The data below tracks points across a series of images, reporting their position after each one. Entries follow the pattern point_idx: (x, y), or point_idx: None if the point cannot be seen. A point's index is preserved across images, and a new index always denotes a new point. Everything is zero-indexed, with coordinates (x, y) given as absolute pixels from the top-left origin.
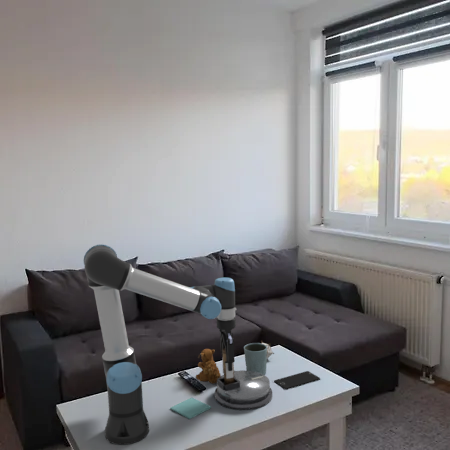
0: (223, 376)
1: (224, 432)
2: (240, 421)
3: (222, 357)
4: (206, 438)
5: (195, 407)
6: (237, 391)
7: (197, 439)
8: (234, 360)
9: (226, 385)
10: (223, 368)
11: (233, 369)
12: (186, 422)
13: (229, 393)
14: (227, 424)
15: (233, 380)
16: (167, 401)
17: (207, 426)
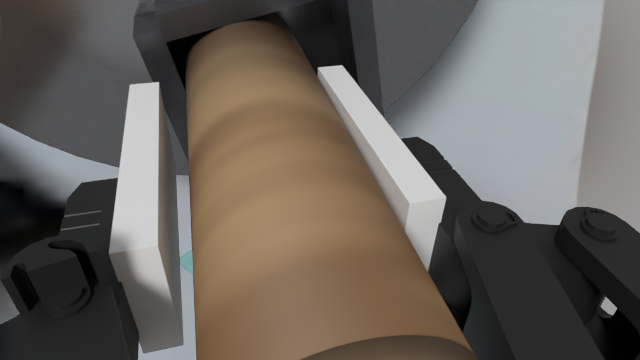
0: (12, 97)
1: (582, 114)
2: (550, 8)
3: (157, 347)
4: (570, 189)
5: None
6: (421, 10)
7: (554, 220)
8: (614, 225)
9: None
10: (175, 202)
11: (317, 92)
12: None
13: (406, 84)
14: (532, 89)
15: (295, 40)
16: (189, 353)
17: (494, 183)
